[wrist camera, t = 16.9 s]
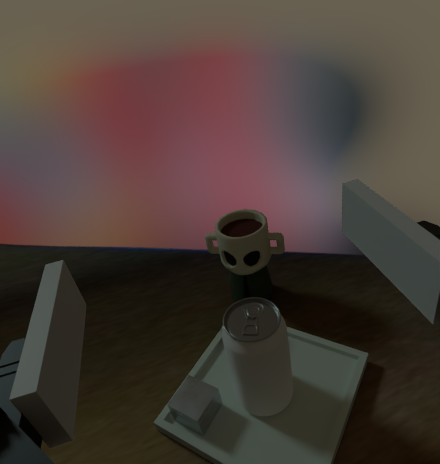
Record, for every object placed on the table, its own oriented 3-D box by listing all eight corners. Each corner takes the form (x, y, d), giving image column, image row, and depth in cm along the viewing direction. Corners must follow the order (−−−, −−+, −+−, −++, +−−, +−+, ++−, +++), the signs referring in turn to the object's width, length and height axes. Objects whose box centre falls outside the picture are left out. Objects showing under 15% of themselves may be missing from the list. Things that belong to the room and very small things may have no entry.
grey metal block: (203, 436, 40) (197, 421, 38) (174, 420, 42) (167, 404, 40) (222, 404, 42) (218, 388, 41) (194, 390, 44) (188, 374, 43)
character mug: (212, 309, 56) (194, 239, 48) (223, 277, 61) (208, 209, 54) (287, 313, 53) (279, 238, 45) (290, 279, 58) (284, 207, 51)
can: (294, 367, 44) (286, 293, 38) (293, 421, 39) (284, 346, 33) (240, 365, 46) (224, 293, 39) (232, 416, 41) (212, 344, 34)
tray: (313, 522, 32) (312, 515, 32) (157, 429, 42) (153, 422, 41) (367, 361, 44) (368, 353, 43) (236, 317, 54) (234, 309, 53)
